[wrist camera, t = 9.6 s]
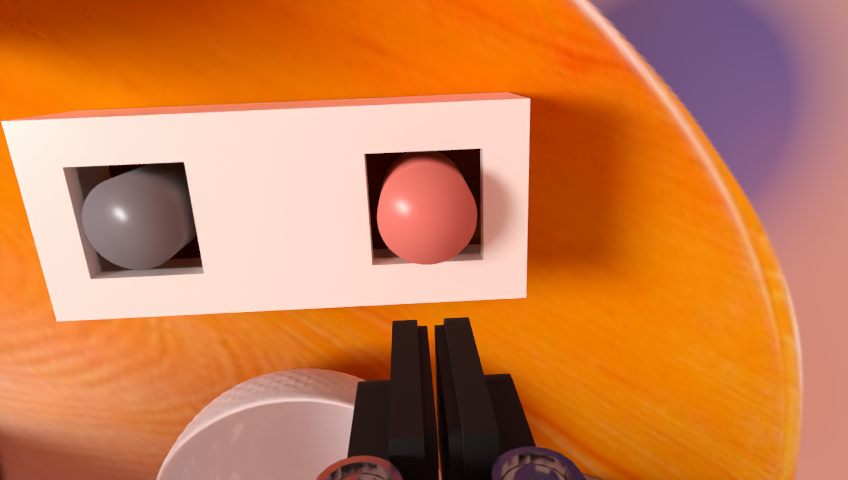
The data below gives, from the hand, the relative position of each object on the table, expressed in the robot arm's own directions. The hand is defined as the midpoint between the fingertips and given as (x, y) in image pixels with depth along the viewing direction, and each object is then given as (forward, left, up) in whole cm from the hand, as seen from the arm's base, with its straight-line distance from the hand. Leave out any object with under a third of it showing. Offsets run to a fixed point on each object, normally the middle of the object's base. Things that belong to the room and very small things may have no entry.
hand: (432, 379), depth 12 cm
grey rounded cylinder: (0, +14, -20) cm, 24 cm away
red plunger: (0, 0, -19) cm, 19 cm away
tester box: (0, +7, -21) cm, 22 cm away
